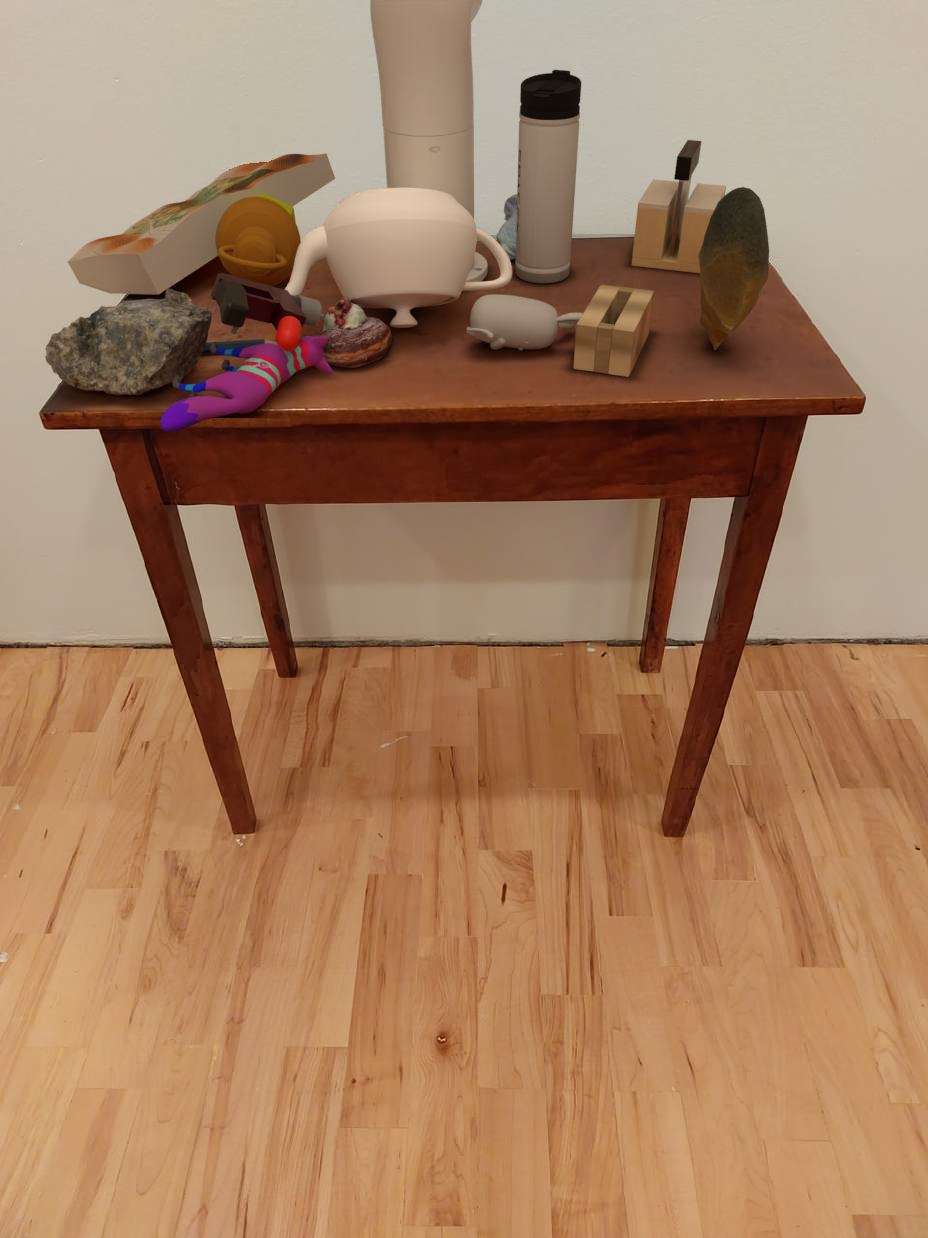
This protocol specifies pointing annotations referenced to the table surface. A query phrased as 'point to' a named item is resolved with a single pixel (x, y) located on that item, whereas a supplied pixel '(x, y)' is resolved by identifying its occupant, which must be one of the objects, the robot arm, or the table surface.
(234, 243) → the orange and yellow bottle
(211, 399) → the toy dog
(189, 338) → the rock
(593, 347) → the knife block
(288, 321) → the toy gun
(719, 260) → the decorative stone
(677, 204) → the knife
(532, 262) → the travel mug
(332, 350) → the pastry
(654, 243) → the u-shaped wooden stand
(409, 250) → the teapot
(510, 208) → the figurine
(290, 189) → the topographic model
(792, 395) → the table surface
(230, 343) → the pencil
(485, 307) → the rabbit figurine
